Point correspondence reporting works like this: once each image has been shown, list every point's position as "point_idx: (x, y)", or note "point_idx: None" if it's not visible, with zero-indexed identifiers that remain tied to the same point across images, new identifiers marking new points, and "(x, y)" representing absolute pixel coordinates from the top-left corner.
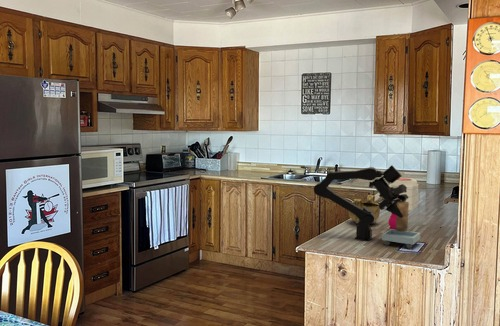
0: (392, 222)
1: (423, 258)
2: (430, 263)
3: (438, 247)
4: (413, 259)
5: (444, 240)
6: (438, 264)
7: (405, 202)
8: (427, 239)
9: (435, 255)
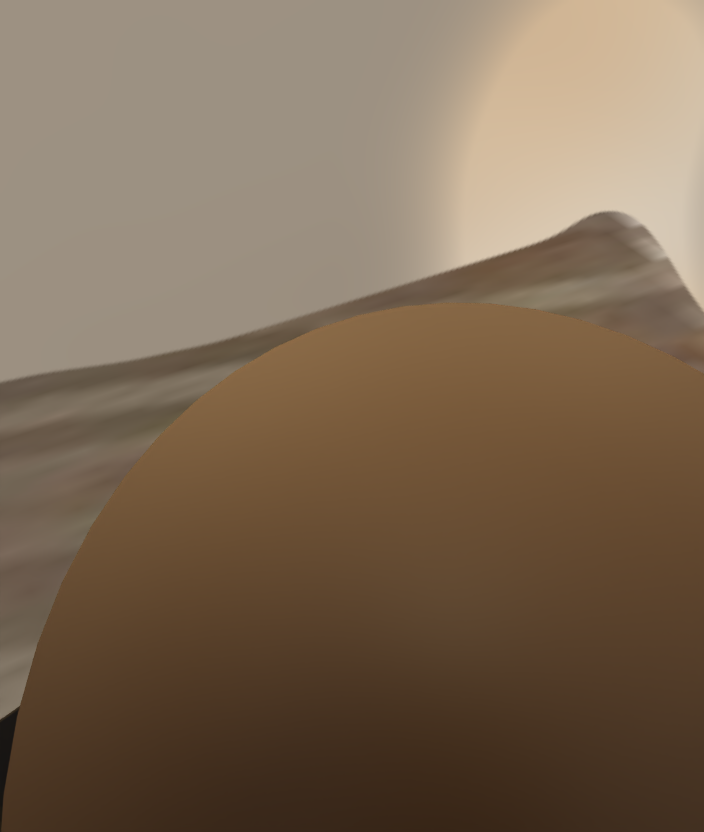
0: None
1: (594, 319)
2: (652, 257)
3: (250, 345)
4: (673, 354)
5: (4, 382)
6: (628, 224)
7: (467, 478)
8: (34, 496)
9: (465, 293)
